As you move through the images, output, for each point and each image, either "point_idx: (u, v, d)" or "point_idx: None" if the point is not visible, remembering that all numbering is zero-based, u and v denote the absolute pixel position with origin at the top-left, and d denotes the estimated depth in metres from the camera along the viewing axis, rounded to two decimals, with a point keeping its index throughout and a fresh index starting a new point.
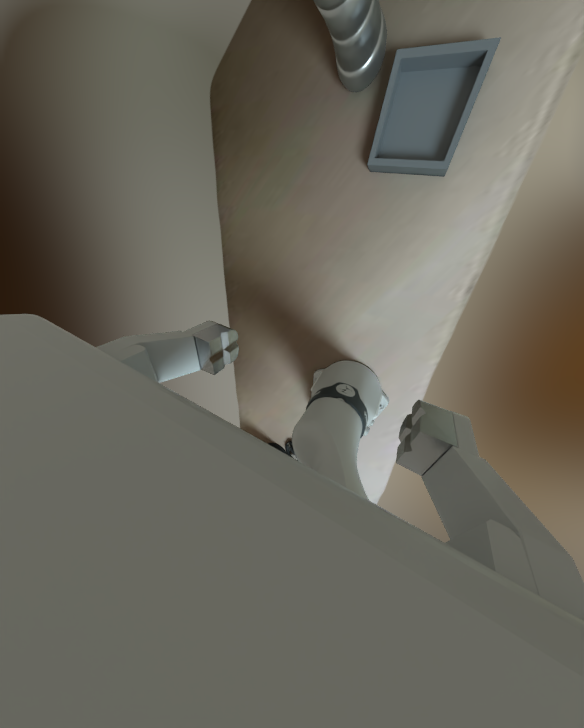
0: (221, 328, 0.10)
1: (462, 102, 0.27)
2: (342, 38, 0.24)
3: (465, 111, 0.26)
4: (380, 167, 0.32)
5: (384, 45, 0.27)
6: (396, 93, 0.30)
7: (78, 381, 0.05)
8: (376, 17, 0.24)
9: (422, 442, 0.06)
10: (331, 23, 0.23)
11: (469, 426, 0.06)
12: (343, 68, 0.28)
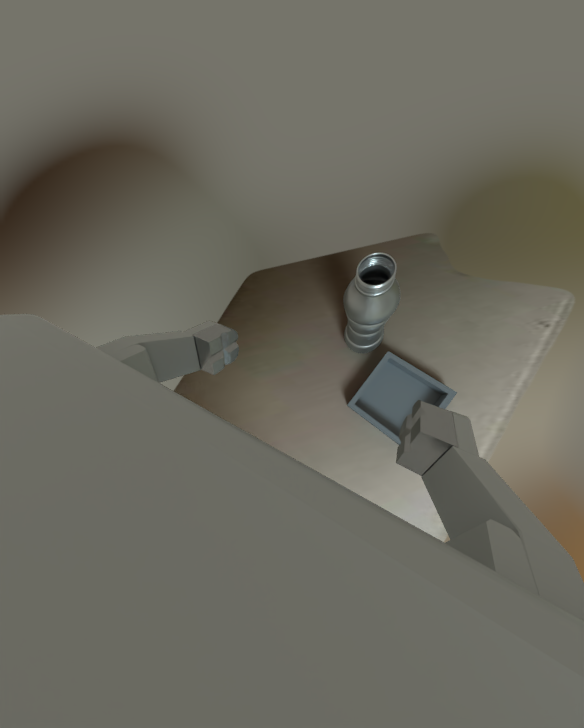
0: (221, 328, 0.10)
1: None
2: (355, 331, 0.30)
3: None
4: None
5: (380, 342, 0.35)
6: (380, 370, 0.36)
7: (78, 381, 0.05)
8: (380, 332, 0.32)
9: (422, 442, 0.06)
10: (351, 323, 0.28)
11: (469, 426, 0.06)
12: (349, 338, 0.34)
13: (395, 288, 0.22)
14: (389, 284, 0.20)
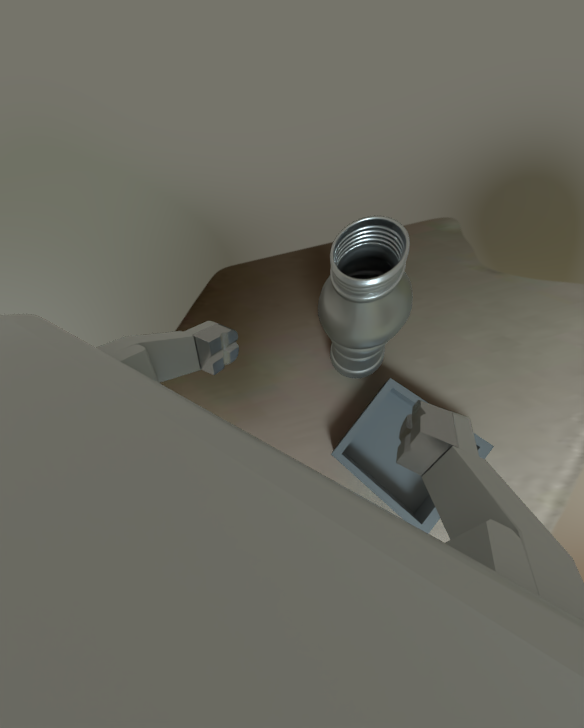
0: (221, 328, 0.10)
1: None
2: (341, 353, 0.20)
3: None
4: None
5: (379, 365, 0.25)
6: (380, 403, 0.26)
7: (78, 381, 0.05)
8: (379, 353, 0.22)
9: (422, 442, 0.06)
10: None
11: (469, 426, 0.06)
12: (335, 359, 0.24)
13: (404, 288, 0.12)
14: (394, 278, 0.10)
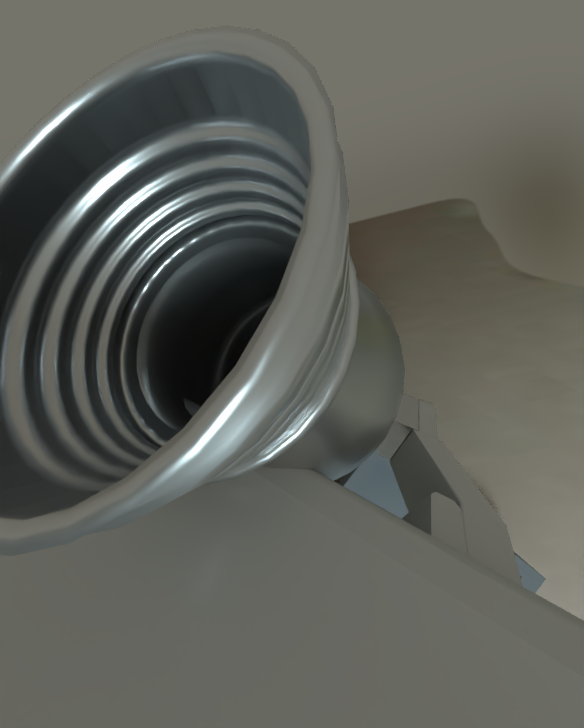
0: None
1: None
2: None
3: None
4: None
5: None
6: None
7: None
8: None
9: None
10: None
11: (432, 412, 0.07)
12: None
13: (376, 369, 0.04)
14: (273, 434, 0.02)
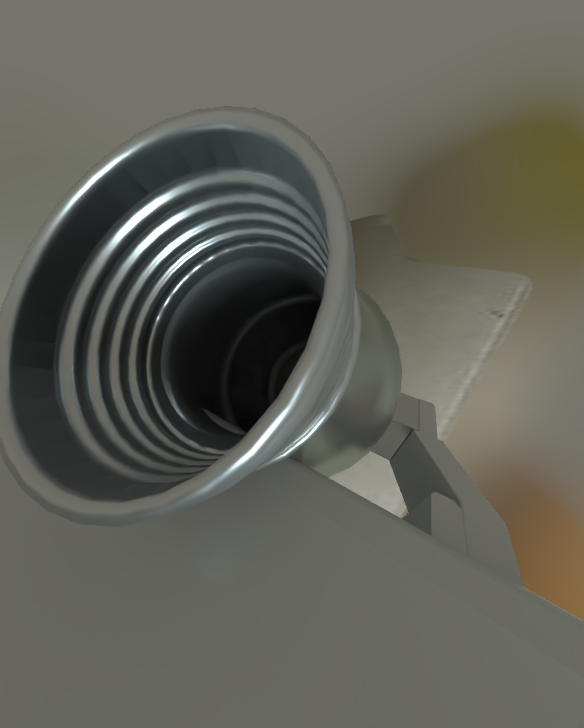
0: None
1: None
2: None
3: None
4: None
5: None
6: None
7: None
8: None
9: None
10: None
11: (433, 412, 0.07)
12: None
13: (375, 375, 0.04)
14: None
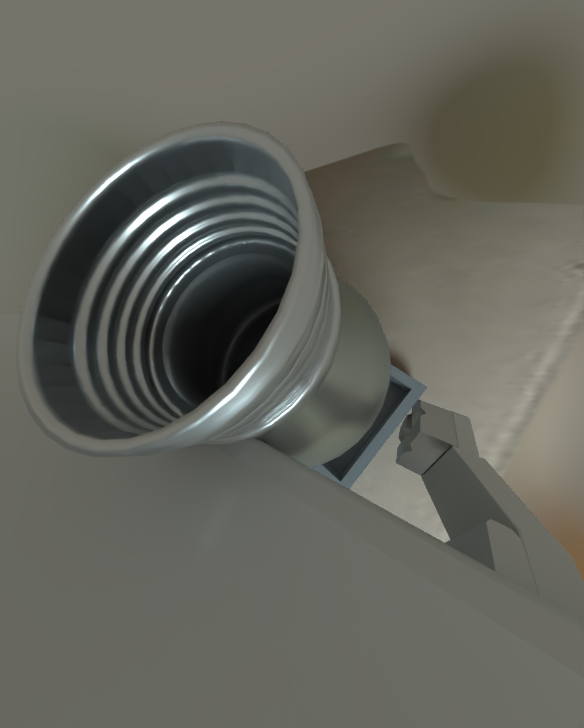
0: None
1: (379, 413, 0.19)
2: None
3: (377, 437, 0.17)
4: None
5: None
6: None
7: None
8: None
9: (422, 442, 0.06)
10: None
11: (469, 426, 0.06)
12: None
13: (361, 364, 0.05)
14: (274, 401, 0.02)
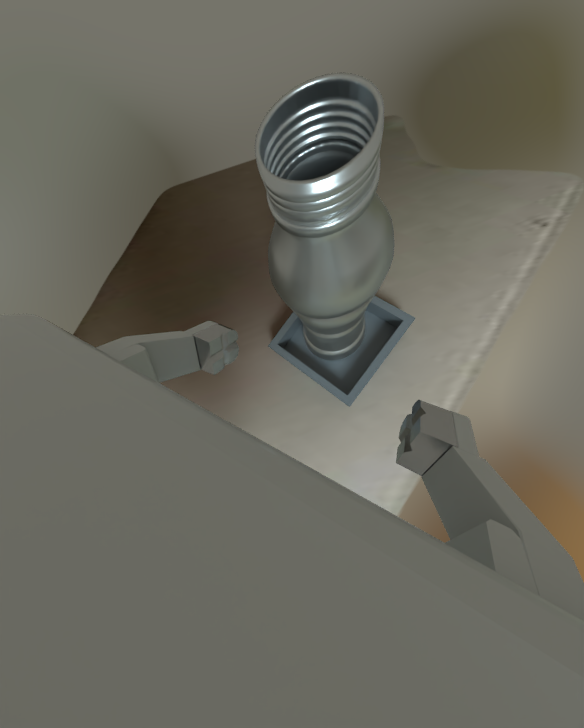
0: (221, 328, 0.10)
1: (376, 346, 0.24)
2: (310, 328, 0.16)
3: (376, 359, 0.21)
4: None
5: (359, 345, 0.21)
6: None
7: (78, 382, 0.05)
8: (358, 328, 0.18)
9: (422, 442, 0.06)
10: (296, 314, 0.14)
11: (469, 426, 0.06)
12: (307, 338, 0.20)
13: (381, 222, 0.08)
14: (360, 186, 0.06)
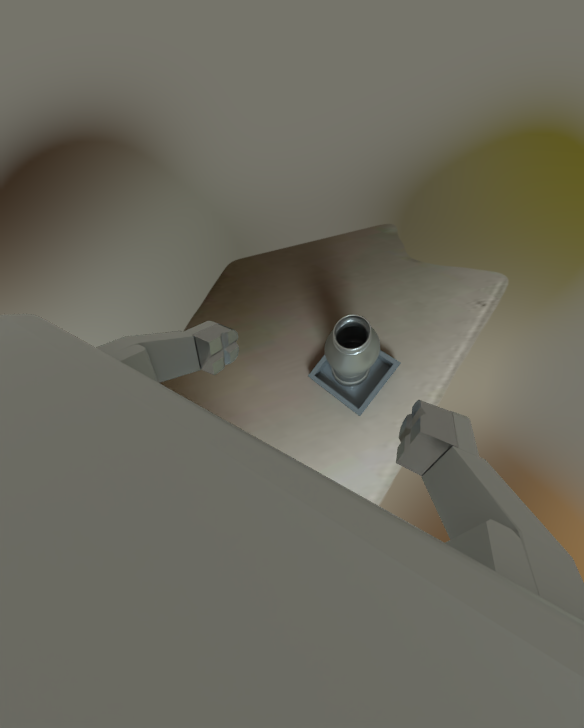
0: (221, 328, 0.10)
1: (377, 378, 0.37)
2: (339, 372, 0.30)
3: (376, 387, 0.35)
4: None
5: (366, 378, 0.35)
6: None
7: (78, 381, 0.05)
8: (365, 371, 0.32)
9: (422, 442, 0.06)
10: None
11: (469, 426, 0.06)
12: (335, 374, 0.34)
13: (373, 344, 0.22)
14: (365, 346, 0.20)
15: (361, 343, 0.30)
